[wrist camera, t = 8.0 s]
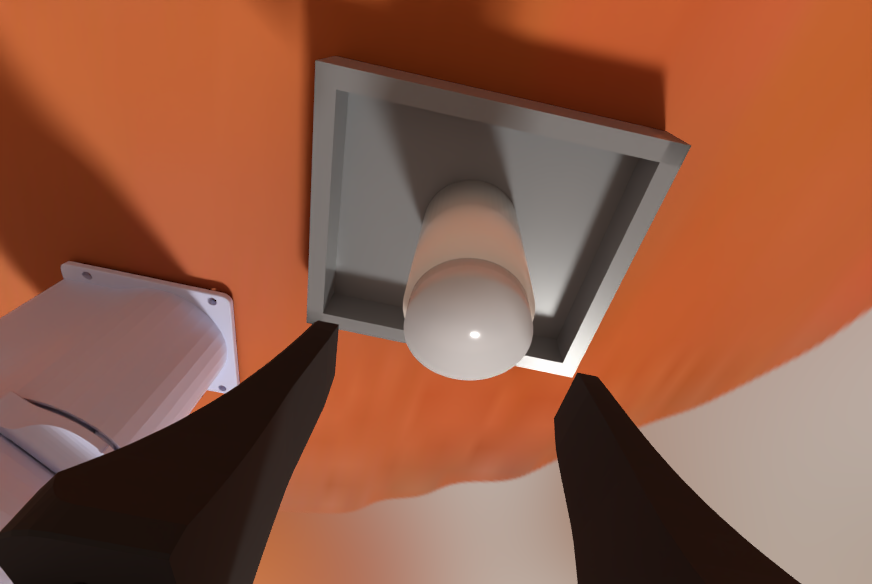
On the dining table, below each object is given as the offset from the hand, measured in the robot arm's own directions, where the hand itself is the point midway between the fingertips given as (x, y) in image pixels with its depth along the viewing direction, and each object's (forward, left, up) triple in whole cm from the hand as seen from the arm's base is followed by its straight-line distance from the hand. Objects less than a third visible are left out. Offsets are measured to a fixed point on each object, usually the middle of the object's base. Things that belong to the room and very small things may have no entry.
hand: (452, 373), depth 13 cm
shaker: (0, +1, -9) cm, 9 cm away
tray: (0, +1, -10) cm, 10 cm away
